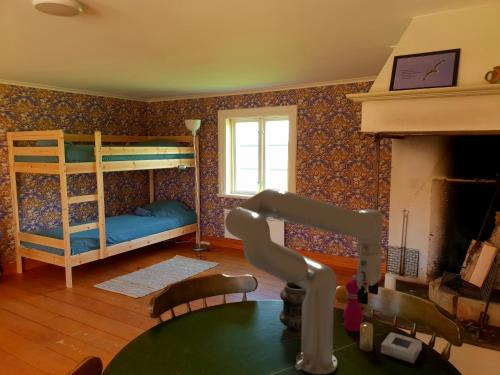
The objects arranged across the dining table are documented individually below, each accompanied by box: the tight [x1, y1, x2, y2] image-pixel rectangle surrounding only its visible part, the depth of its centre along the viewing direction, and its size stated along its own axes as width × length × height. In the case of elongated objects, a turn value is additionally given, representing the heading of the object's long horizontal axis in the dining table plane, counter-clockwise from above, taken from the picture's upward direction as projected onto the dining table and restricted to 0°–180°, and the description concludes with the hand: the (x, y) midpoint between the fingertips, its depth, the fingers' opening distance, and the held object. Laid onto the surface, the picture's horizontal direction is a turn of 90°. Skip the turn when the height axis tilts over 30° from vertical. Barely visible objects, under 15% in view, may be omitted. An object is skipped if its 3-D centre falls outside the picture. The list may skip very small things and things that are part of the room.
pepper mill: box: [342, 274, 364, 332], centre depth 137 cm, size 7×7×20 cm
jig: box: [380, 331, 423, 364], centre depth 122 cm, size 10×10×3 cm
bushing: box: [359, 321, 374, 352], centre depth 124 cm, size 4×4×8 cm
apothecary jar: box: [279, 282, 306, 340], centre depth 134 cm, size 12×12×18 cm
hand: (368, 298), depth 123 cm, fingers open, 9 cm apart
